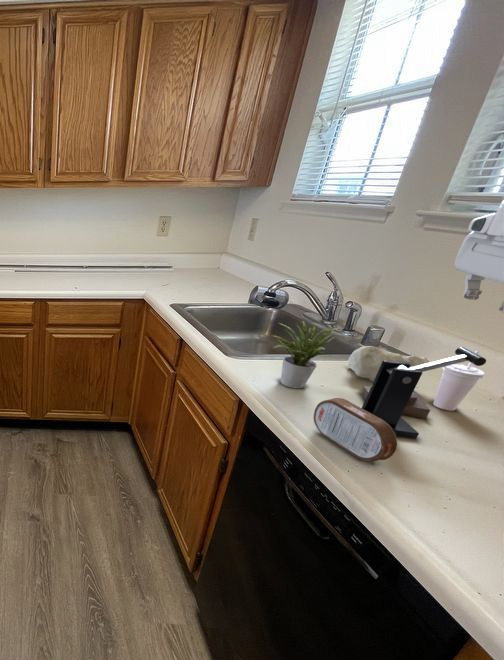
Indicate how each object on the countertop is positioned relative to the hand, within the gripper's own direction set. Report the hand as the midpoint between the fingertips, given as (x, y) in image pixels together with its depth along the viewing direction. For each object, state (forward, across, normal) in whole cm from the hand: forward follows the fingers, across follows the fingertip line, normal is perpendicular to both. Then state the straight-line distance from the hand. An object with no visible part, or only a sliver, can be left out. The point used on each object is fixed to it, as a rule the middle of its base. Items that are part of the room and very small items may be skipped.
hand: (487, 305), depth 76 cm
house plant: (+27, +17, +19) cm, 37 cm away
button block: (+27, +10, +1) cm, 29 cm away
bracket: (+27, -1, +9) cm, 28 cm away
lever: (+14, -1, +4) cm, 14 cm away
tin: (+27, -12, +19) cm, 35 cm away
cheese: (+27, +26, -4) cm, 38 cm away
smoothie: (+27, +13, -10) cm, 32 cm away
